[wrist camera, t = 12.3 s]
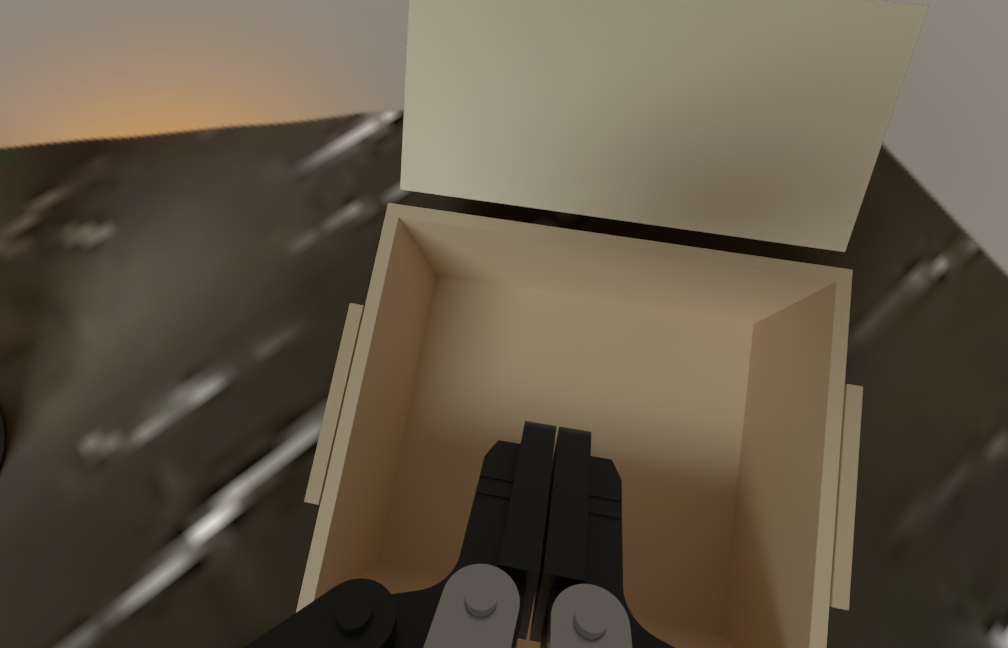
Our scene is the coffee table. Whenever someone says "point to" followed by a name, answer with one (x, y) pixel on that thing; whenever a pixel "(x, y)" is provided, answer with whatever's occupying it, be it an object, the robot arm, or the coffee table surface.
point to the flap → (658, 108)
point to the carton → (601, 416)
